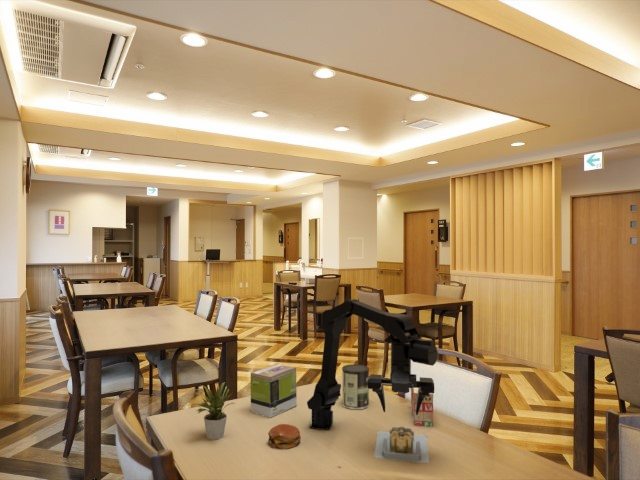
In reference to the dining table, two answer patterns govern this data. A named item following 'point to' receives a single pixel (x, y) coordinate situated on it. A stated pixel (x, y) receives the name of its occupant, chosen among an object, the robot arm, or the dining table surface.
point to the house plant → (214, 413)
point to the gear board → (417, 456)
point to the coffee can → (355, 386)
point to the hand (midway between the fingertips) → (400, 413)
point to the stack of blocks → (422, 409)
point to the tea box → (273, 390)
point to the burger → (284, 436)
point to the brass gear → (401, 442)
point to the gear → (402, 430)
